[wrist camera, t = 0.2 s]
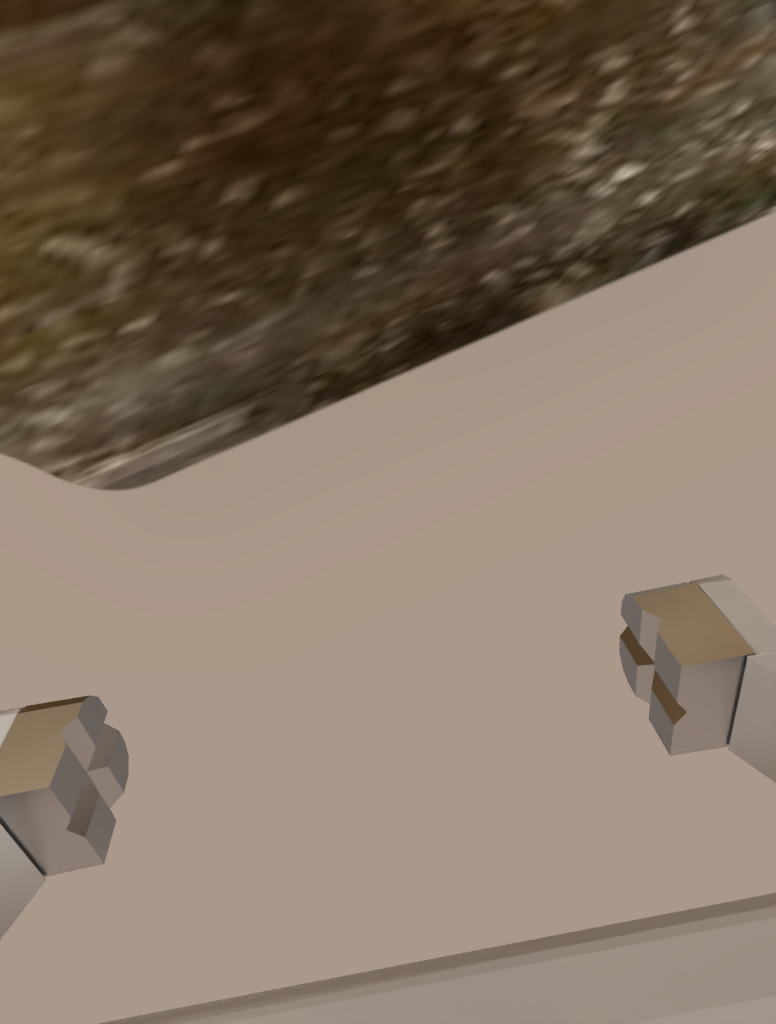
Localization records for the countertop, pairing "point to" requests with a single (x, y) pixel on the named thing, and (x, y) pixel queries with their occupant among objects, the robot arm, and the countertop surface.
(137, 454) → the countertop surface
